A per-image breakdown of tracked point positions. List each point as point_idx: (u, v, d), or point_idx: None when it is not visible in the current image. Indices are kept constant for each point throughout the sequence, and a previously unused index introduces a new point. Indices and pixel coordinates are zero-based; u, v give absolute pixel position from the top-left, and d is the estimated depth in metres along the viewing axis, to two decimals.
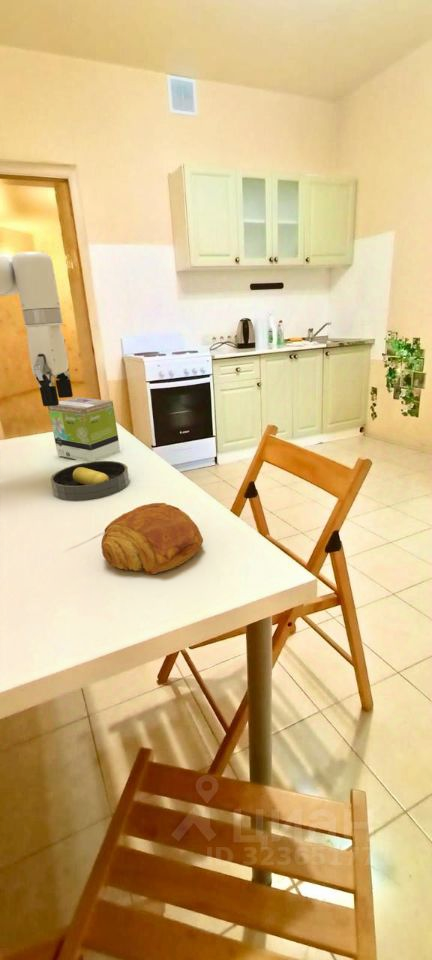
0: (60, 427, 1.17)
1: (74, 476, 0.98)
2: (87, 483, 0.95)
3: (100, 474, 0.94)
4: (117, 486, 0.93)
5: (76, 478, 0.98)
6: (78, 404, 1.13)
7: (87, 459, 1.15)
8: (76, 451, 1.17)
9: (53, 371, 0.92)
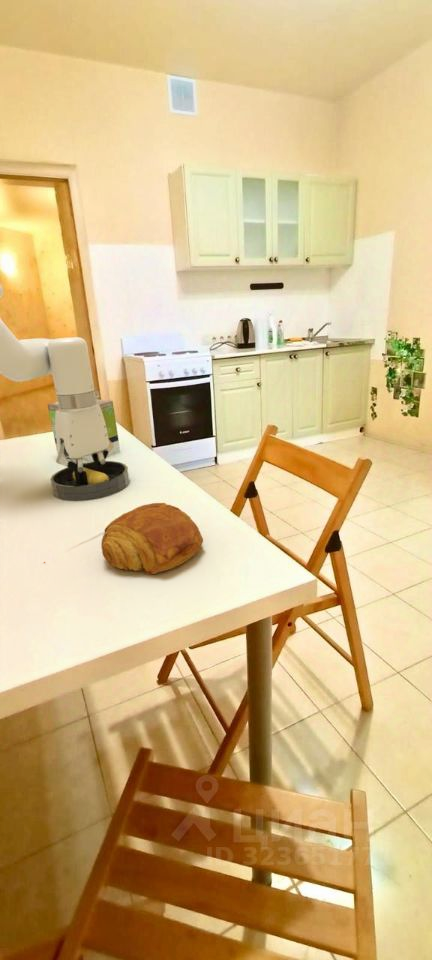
0: None
1: (74, 476, 0.98)
2: None
3: (100, 474, 0.94)
4: (117, 486, 0.93)
5: None
6: None
7: (87, 459, 1.15)
8: None
9: (70, 456, 0.90)
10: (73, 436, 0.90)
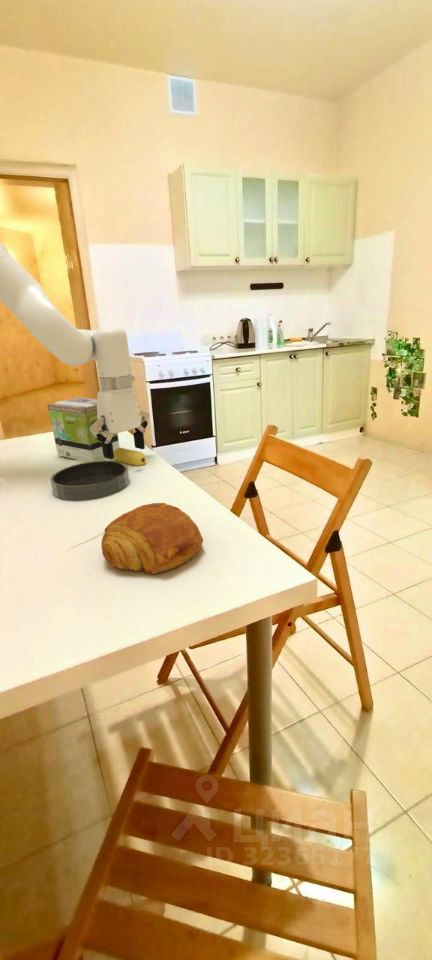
0: (60, 427, 1.17)
1: (114, 453, 1.13)
2: (126, 459, 1.10)
3: (139, 452, 1.09)
4: (117, 486, 0.93)
5: (116, 455, 1.12)
6: (78, 404, 1.13)
7: (87, 459, 1.15)
8: (76, 451, 1.17)
9: (110, 431, 1.04)
10: (113, 413, 1.03)
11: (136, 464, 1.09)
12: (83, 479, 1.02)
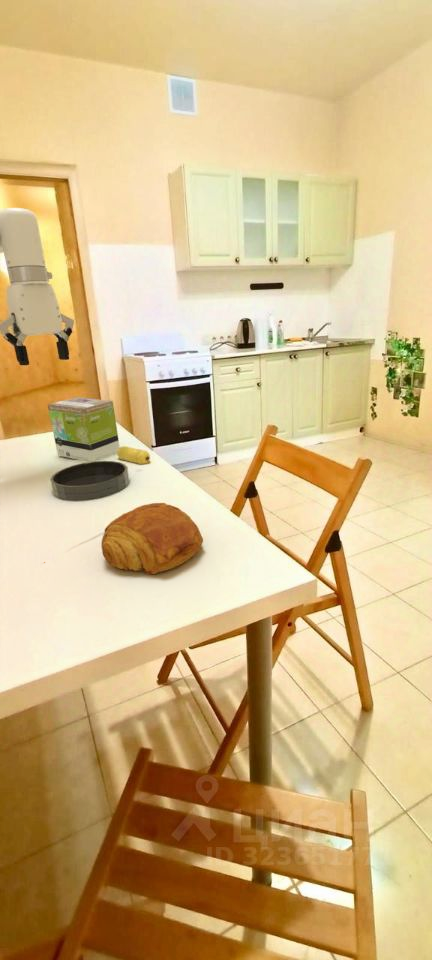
0: (60, 427, 1.17)
1: (121, 447, 1.14)
2: (131, 452, 1.11)
3: (147, 452, 1.11)
4: (117, 486, 0.93)
5: (122, 449, 1.13)
6: (78, 404, 1.13)
7: (87, 459, 1.15)
8: (76, 451, 1.17)
9: (22, 330, 0.92)
10: (24, 310, 0.91)
11: (139, 458, 1.09)
12: (83, 479, 1.02)
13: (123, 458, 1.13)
